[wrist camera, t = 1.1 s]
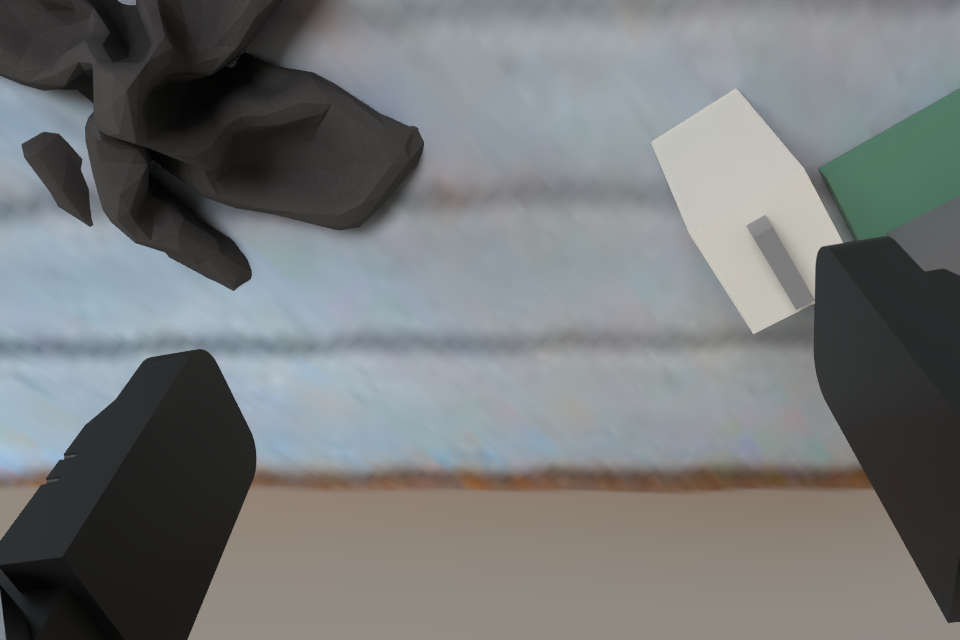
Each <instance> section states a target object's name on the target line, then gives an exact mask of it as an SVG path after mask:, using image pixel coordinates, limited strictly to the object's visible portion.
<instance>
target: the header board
mask: <svg viewBox="0 0 960 640" xmlns="http://www.w3.org/2000/svg"><path fill="white" fill-rule="evenodd" d="M819 171H820V173H821V175H822V177H823V179H824V181H825V183H826V184H827V186H828V188H829V190H830V192H831V194H832V196H833V198H834V200H835V202H836V204H837V206H838V208H839V210H840V212H841V213H842V215H843V217H844V219H845V221H846V223H847V225H848V227H849V229H850V231H851V233H852V235H853V237H854V239H855V240H856V241H858V240H864V239H870V238H876V237H882V236H889V237H891V238H893V239H894V240H895V241H896V242H897V243H898V244H899V245H900V246H901V247H902V248H903V249H904V250H905V251H906V252H907V254H908V255H909V256H910V257H911V258H912V259H913V260H914V261H915V262H916V263H917V264H918V265H919V266H920V267H921V268H922V269H923V270H924V271H931V270H937V269H943V268H944V269H946V270H949V271H951V272H953V273H955V274H957V275H960V89H959V90H957V91H955V92H953V93H952V94H950V95H948V96H946V97H944V98H943V99H941V100H939V101H937V102H936V103H934V104H932V105H930V106H929V107H927V108H925V109H923V110H921V111H920V112H918V113H916V114H914V115H913V116H911V117H909V118H907V119H906V120H904V121H902V122H900V123H898V124H897V125H895V126H893V127H891V128H890V129H888V130H886V131H884V132H883V133H881V134H879V135H877V136H875V137H874V138H872V139H870V140H868V141H867V142H865V143H863V144H861V145H860V146H858V147H856V148H854V149H853V150H851V151H849V152H847V153H845V154H844V155H842V156H840V157H838V158H837V159H835V160H833V161H831V162H830V163H828V164H826V165H824V166H822V167H821V168H819Z"/></svg>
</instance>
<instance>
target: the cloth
mask: <svg viewBox="0 0 960 640" xmlns="http://www.w3.org/2000/svg"><path fill="white" fill-rule="evenodd" d="M280 2H281V0H136V5H135V6H134V5H125V4H122V3H120V2H119V1H118V0H0V76H3V77H5V78H8V79H10V80H12V81H15V82H17V83H19V84H22V85H26V86H29V87H33V88H37V89H40V90H52V89H64V90H78V91H79V92H81V93H82V94H83V95H84V96H85V97H87V98H88V99H89V100H90V101H92V102H93V103H94V112H93V113H92V114H91V115H90V116H89V118H88V121H87V124H86V126H85V137H86V145H87V149H88V154H89V159H90V163H91V168H92V172H93V177H94V180H95V184H96V187H97V191H98V194H99V198H100V201H101V205H102V209H103V211H104V212H105V214H106V215H107V217H108V218H109V220H110V221H111V222H112V223H113V224H114V225H115V226H116V227H117V228H119V229H120V230H121V231H122V232H123V233H124V234H125V235H127V236H128V237H129V238H130V239H131V240H133V241H134V242H135V243H137V244H140V245H144V246H147V247H150V248H153V249H156V250H159V251H163V252H165V253H166V254H167V255H168V256H169V257H170V258H172V259H174V260H175V261H177V262H179V263H181V264H183V265H185V266H187V267H189V268H190V269H192V270H194V271H196V272H198V273H200V274H202V275H203V276H205V277H207V278H209V279H211V280H214V281H216V282H218V283H220V284H222V285H224V286H226V287H227V288H229V289H231V290H233V291H234V290H235V289H237V288H238V287H239V286H240V285H242V284H243V283H245V282H247V281H248V280H250V279H251V276H252V273H251V268H250V265H249V263H248V260H247V259H246V258H245V256H244V255H243V254H242V252H241V251H240V250H239V248H238V247H237V246H236V244H235V243H234V242H233V241H232V240H231V239H230V238H228V237H227V236H225V235H224V234H222V233H221V232H219V231H217V230H215V229H214V228H212V227H210V226H208V225H206V224H204V223H202V222H201V221H200V220H199V219H198V218H197V217H196V216H195V215H193V214H192V213H191V212H190V211H189V210H188V209H187V208H186V207H185V206H184V205H183V204H182V203H181V202H180V201H179V200H178V199H177V198H176V197H174V196H173V195H171V194H170V193H169V192H167V191H166V190H165V189H164V187H163V186H162V185H161V184H160V183H159V182H158V181H156V180H155V179H154V178H153V177H152V175H151V173H150V165H151V161H152V160H154V159H155V160H156V161H157V162H158V163H159V164H160V165H161V166H162V167H163V168H164V169H165V170H167V171H168V172H170V173H171V174H173V175H174V176H175V177H177V178H178V179H180V180H181V181H183V182H184V183H186V184H187V185H189V186H190V187H191V188H193V189H194V190H196V191H197V192H199V193H200V194H202V195H203V196H204V197H206V198H208V199H211V200H214V201H217V202H220V203H223V204H226V205H229V206H232V207H235V208H239V209H245V210H252V211H258V212H264V213H270V214H276V215H280V216H283V217H287V218H291V219H295V220H299V221H303V222H307V223H311V224H315V225H319V226H323V227H327V228H331V229H336V230H343V229H350V228H356V227H360V226H361V225H362V224H363V223H364V222H365V221H366V220H367V219H368V218H369V217H370V216H371V214H372V213H373V212H374V211H375V210H376V209H377V208H378V207H379V206H380V205H381V204H382V203H383V202H384V201H385V200H386V199H387V198H388V197H389V195H390V194H391V193H392V192H393V191H394V190H395V189H396V188H397V186H398V185H399V184H400V183H401V182H402V181H403V180H404V179H405V177H406V176H407V175H408V174H409V173H410V172H411V171H412V170H413V169H414V167H415V166H416V164H417V162H418V160H419V158H420V156H421V154H422V150H423V146H424V141H423V139H422V137H421V135H420V133H419V131H418V128H417V127H415V126H407V125H404V124H402V123H400V122H398V121H396V120H394V119H392V118H389V117H387V116H384V115H381V114H379V113H378V112H376V111H375V110H373V109H372V108H370V107H369V106H367V105H366V104H364V103H363V102H361V101H360V100H358V99H357V98H355V97H353V96H352V95H350V94H349V93H347V92H346V91H344V90H343V89H341V88H340V87H338V86H337V85H335V84H334V83H332V82H330V81H328V80H326V79H324V78H322V77H320V76H319V75H317V74H315V73H313V72H307V71H301V70H295V69H288V68H282V67H276V66H273V65H271V64H268V63H266V62H264V61H262V60H259V59H257V58H255V57H253V56H252V55H250V54H247V53H243V54H241V53H242V52H243V50H244V49H245V48H246V47H247V46H248V45H249V43H250V42H251V41H252V39H253V38H254V37H255V35H256V34H257V32H258V31H259V30H260V28H261V27H262V26H263V24H264V23H265V22H266V20H267V19H268V18H269V16H270V15H271V14H272V12H273V11H274V10H275V8H276V7H277V6H278V4H279V3H280ZM240 54H241V56H240V57H239V59H238V61H237V63H236V65H235V67H234V68H228V67H227V65H228V64H229V63H231V62H232V61H234V60H235V59H236V58H237V57H238V56H239V55H240ZM22 149H23V153H24V158H25V159H26V160H27V162H28V163H29V164H30V166H31V167H32V168H33V170H34V171H35V172H36V174H37V175H38V176H39V178H40V179H41V180H42V182H43V183H44V184H45V186H46V187H47V189H48V190H49V191H50V193H51V194H52V196H53V198H54V200H55V201H56V203H57V205H58V206H59V207H60V208H62V209H63V210H65V211H66V212H68V213H70V214H71V215H73V216H74V217H76V218H77V219H79V220H81V221H82V222H84V223H85V224H87V225H88V226H90V227H91V226H92V225H93V222H92V219H91V211H90V202H89V189H88V186H87V184H86V182H85V179H84V177H83V174H82V172H81V165H82V159H81V157H80V156H79V155H78V154H77V153H76V152H75V151H74V149H73V148H72V147H71V146H70V145H69V144H68V143H67V142H66V141H65V140H64V139H63V138H62V137H61V136H60V135H59V134H56V133H49V132H43V133H41V134H39V135H37V136H35V137H34V138H32V139H30V140H28V141H27V142H25V143H23V144H22Z"/></svg>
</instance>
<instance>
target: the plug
mask: <svg viewBox="0 0 960 640" xmlns="http://www.w3.org/2000/svg"><path fill="white" fill-rule="evenodd" d="M651 144H652V146H653V148H654V151H655V153H656V156H657V158H658V160H659V163H660V165H661V167H662V170H663V172H664V175H665V177H666V179H667V182H668V184H669V187H670V189H671V191H672V194H673V196H674V198H675V201H676V203H677V206H678V208H679V210H680V213H681V215H682V217H683V220H684V222H685V225H686V227H687V229H688V232H689V234H690V236H691V237H692V239H693V240H694V242H695V243H696V245H697V247H698V248H699V250H700V251H701V253H702V254H703V256H704V258H705V259H706V261H707V262H708V264H709V265H710V267H711V268H712V270H713V272H714V273H715V275H716V276H717V278H718V279H719V281H720V283H721V284H722V286H723V287H724V289H725V290H726V292H727V293H728V295H729V297H730V298H731V300H732V301H733V303H734V304H735V306H736V308H737V309H738V311H739V312H740V314H741V315H742V317H743V318H744V320H745V322H746V323H747V325H748V326H749V328H750V329H751V331H752V333H753V334H755V333H757V332H759V331H761V330H763V329H765V328H767V327H769V326H771V325H773V324H775V323H777V322H779V321H781V320H783V319H785V318H787V317H789V316H791V315H793V314H795V313H797V312H799V311H800V310H802V309H804V308H806V307H808V306H810V305H812V304H814V303H815V266H816V257H817V253H818V251H819V249H820V248H821V247H823V246H828V245H834V244H840V243H843V241H842V239H841V238H840V236H839V234H838V232H837V230H836V228H835V226H834V224H833V222H832V221H831V219H830V217H829V215H828V213H827V211H826V209H825V207H824V205H823V203H822V202H821V200H820V198H819V196H818V194H817V192H816V190H815V188H814V186H813V185H812V183H811V181H810V179H809V177H808V175H807V173H806V171H805V169H804V168H803V167H802V166H801V164H800V163H799V162H798V161H797V160H796V158H795V157H794V156H793V155H792V154H791V152H790V151H789V150H788V149H787V148H786V147H785V145H784V144H783V143H782V142H781V141H780V139H779V138H778V137H777V136H776V135H775V133H774V132H773V131H772V130H771V129H770V128H769V126H768V125H767V124H766V123H765V122H764V120H763V119H762V118H761V117H760V116H759V114H758V113H757V112H756V111H755V110H754V109H753V107H752V106H751V105H750V104H749V103H748V101H747V100H746V99H745V98H744V97H743V95H742V94H741V93H740V92H739V91H738V90H737V88H736V89H734V90H733V91H731V92H729V93H728V94H726V95H725V96H723V97H722V98H720V99H718V100H717V101H715V102H714V103H712V104H710V105H709V106H707V107H706V108H704V109H702V110H701V111H699V112H698V113H696V114H695V115H693V116H691V117H690V118H688V119H687V120H685V121H683V122H682V123H680V124H679V125H677V126H675V127H674V128H672V129H671V130H669V131H668V132H666V133H664V134H663V135H661V136H660V137H658V138H656V139H655V140H653V141H652V142H651Z"/></svg>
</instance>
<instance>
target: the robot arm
mask: <svg viewBox="0 0 960 640" xmlns="http://www.w3.org/2000/svg"><path fill="white" fill-rule="evenodd" d="M814 361H815V368H816V374H817V378H818V382H819V386H820V389H821V392H822V394H823V397H824V399H825V401H826V403H827V405H828V406H829V408H830V410H831V412H832V414H833V415H834V417H835V419H836V421H837V423H838V425H839V426H840V428H841V430H842V432H843V434H844V435H845V437H846V439H847V441H848V443H849V444H850V446H851V448H852V450H853V452H854V453H855V455H856V457H857V459H858V461H859V463H860V464H861V466H862V468H863V470H864V472H865V473H866V475H867V477H868V479H869V481H870V482H871V484H872V486H873V488H874V490H875V491H876V493H877V495H878V497H879V499H880V501H881V502H882V504H883V506H884V508H885V510H886V511H887V513H888V515H889V517H890V519H891V520H892V522H893V524H894V526H895V528H896V529H897V531H898V533H899V535H900V537H901V539H902V540H903V542H904V544H905V546H906V548H907V549H908V551H909V553H910V555H911V556H912V558H913V560H914V562H915V564H916V566H917V567H918V569H919V571H920V573H921V575H922V577H923V578H924V580H925V582H926V584H927V586H928V587H929V589H930V591H931V593H932V595H933V596H934V598H935V600H936V602H937V604H938V605H939V607H940V609H941V611H942V613H943V614H944V616H945V618H946V620H947V622H948V623H951V622H960V275H957V274H955V273H953V272H951V271H949V270H946V269H944V268H943V269H937V270H931V271H924V270H923V269H922V268H921V267H920V266H919V265H918V264H917V263H916V262H915V261H914V260H913V259H912V258H911V257H910V256H909V255H908V254H907V252H906V251H905V250H904V249H903V248H902V247H901V246H900V245H899V244H898V243H897V242H896V241H895V240H894V239H893V238H891V237H889V236H882V237H876V238H870V239H864V240H858V241H852V242H846V243H840V244H834V245H828V246H823V247H821V248H820V249H819V251H818V253H817V257H816V266H815V314H814ZM64 457H65V458H64V460H59V462H58V463H57V464H56V466H55V467H54V468H53V470H52V471H51V472H50V474H49V475H48V477H47V478H46V480H47V484H43V485H41V486H40V487H39V489H38V490H37V491H36V493H35V494H34V496H33V497H32V499H31V500H30V501H29V502H28V504H27V505H26V507H25V508H24V509H23V511H22V512H21V513H20V515H19V516H18V517H17V519H16V520H15V521H14V523H13V524H12V526H11V527H10V528H9V530H8V531H7V532H6V534H5V535H4V537H3V538H2V539H1V541H0V640H187V639H188V636H189V634H190V632H191V629H192V627H193V624H194V622H195V620H196V617H197V614H198V612H199V610H200V607H201V605H202V603H203V600H204V598H205V595H206V593H207V590H208V588H209V585H210V583H211V580H212V578H213V575H214V573H215V571H216V568H217V566H218V564H219V561H220V559H221V556H222V554H223V551H224V549H225V546H226V544H227V541H228V539H229V536H230V534H231V532H232V529H233V527H234V524H235V522H236V520H237V517H238V515H239V512H240V510H241V507H242V505H243V502H244V500H245V498H246V495H247V492H248V490H249V488H250V485H251V483H252V481H253V478H254V475H255V470H256V448H255V443H254V439H253V436H252V433H251V431H250V429H249V427H248V425H247V423H246V421H245V419H244V417H243V415H242V413H241V411H240V409H239V407H238V405H237V403H236V401H235V399H234V397H233V395H232V393H231V391H230V388H229V386H228V384H227V382H226V380H225V378H224V376H223V374H222V372H221V370H220V368H219V366H218V364H217V363H216V361H215V359H214V358H213V357H212V355H211V354H210V353H208V352H207V351H205V350H202V349H197V350H191V351H185V352H179V353H173V354H167V355H161V356H156V357H150V358H147V359H146V360H144V361H143V362H142V364H141V365H140V366H139V368H138V369H137V370H136V372H135V373H134V375H133V376H132V377H131V379H130V380H129V382H128V383H127V384H126V386H125V387H124V389H123V390H122V391H121V393H120V394H119V396H118V397H117V398H116V400H115V401H113V402H112V403H111V404H110V405H109V406H107V407H106V408H105V409H104V410H103V411H102V412H100V413H99V414H98V415H97V416H96V417H94V418H93V419H92V420H91V421H90V422H89V423H87V424H86V425H85V426H84V428H83V429H82V430H81V432H80V433H79V434H78V436H77V437H76V438H75V440H74V441H73V442H72V444H71V445H70V447H69V448H68V449H67V451H66V452H65V453H64Z"/></svg>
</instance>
